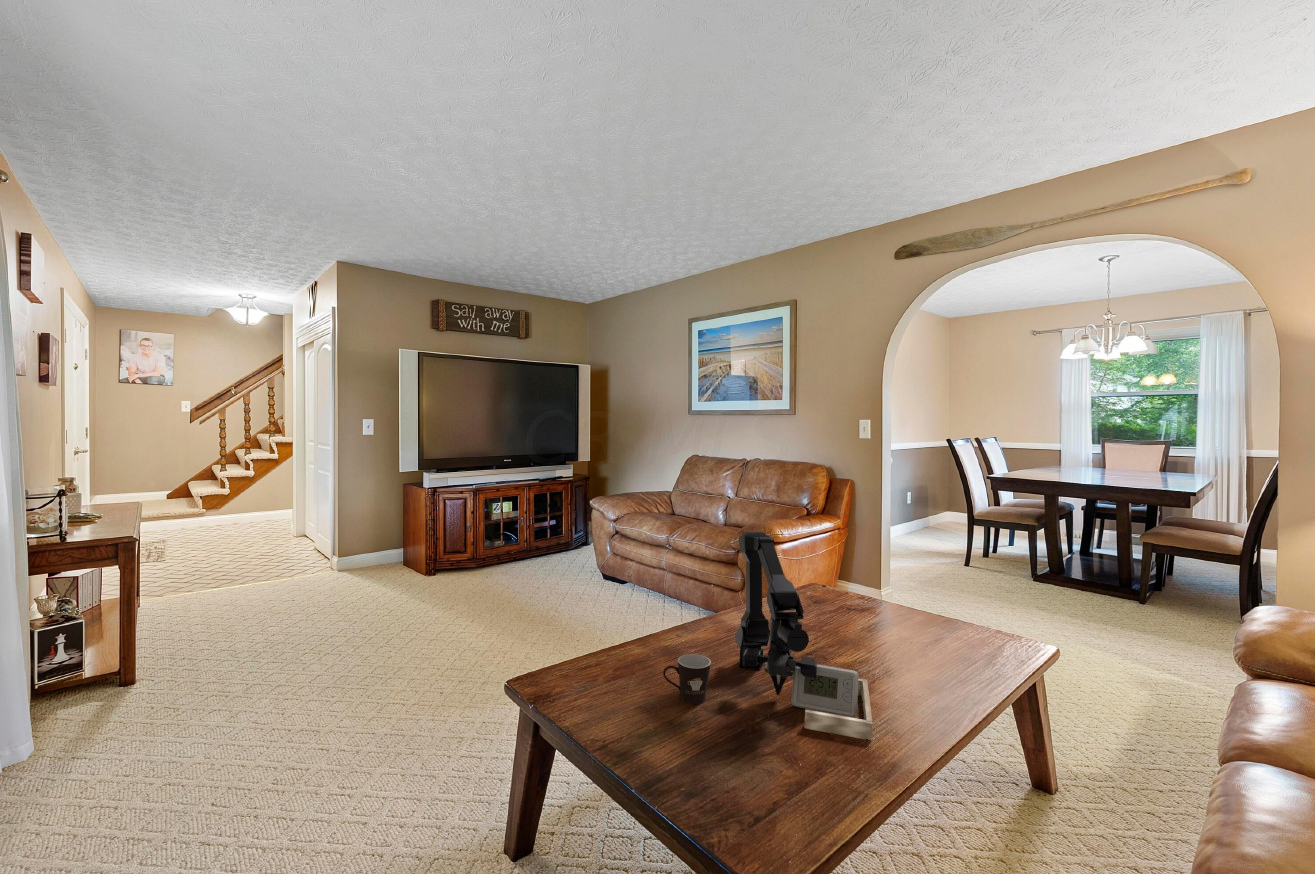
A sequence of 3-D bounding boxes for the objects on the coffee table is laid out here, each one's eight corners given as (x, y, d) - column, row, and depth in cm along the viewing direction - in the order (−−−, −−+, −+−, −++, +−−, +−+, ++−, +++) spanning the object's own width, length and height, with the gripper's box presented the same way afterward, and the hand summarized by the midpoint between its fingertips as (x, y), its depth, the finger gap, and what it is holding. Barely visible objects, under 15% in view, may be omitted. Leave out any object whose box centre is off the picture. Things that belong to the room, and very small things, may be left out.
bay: (804, 728, 141) (805, 711, 141) (808, 684, 164) (809, 670, 163) (871, 740, 137) (872, 723, 137) (866, 694, 159) (867, 679, 159)
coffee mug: (712, 694, 156) (714, 657, 156) (704, 709, 148) (706, 670, 148) (671, 685, 160) (672, 649, 160) (660, 700, 152) (662, 662, 152)
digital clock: (787, 706, 151) (789, 666, 151) (798, 692, 159) (800, 653, 158) (853, 725, 143) (855, 683, 142) (860, 709, 151) (862, 669, 150)
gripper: (740, 641, 149) (737, 702, 149) (817, 653, 143) (813, 716, 144) (747, 626, 159) (744, 682, 160) (818, 636, 154) (815, 695, 155)
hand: (778, 694), depth 154 cm, fingers closed
